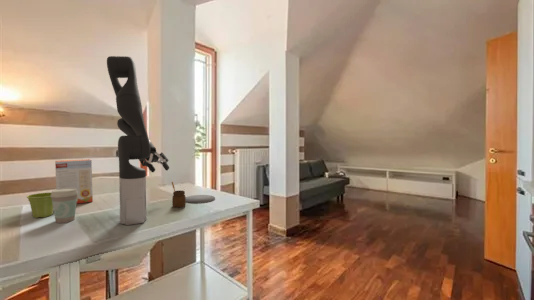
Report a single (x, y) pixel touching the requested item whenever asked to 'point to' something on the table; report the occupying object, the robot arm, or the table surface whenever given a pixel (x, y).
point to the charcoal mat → (199, 198)
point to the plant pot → (41, 204)
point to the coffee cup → (64, 204)
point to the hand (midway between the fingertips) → (161, 170)
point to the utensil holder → (178, 198)
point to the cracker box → (75, 177)
